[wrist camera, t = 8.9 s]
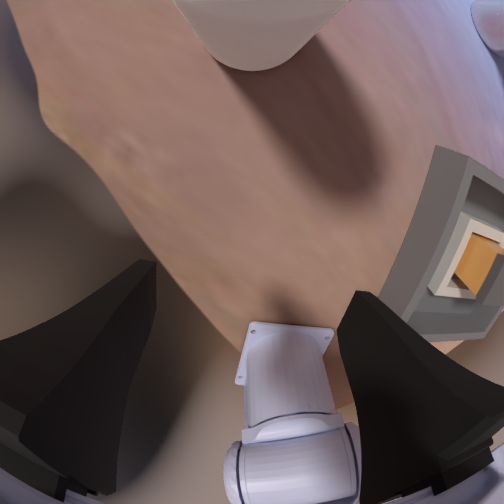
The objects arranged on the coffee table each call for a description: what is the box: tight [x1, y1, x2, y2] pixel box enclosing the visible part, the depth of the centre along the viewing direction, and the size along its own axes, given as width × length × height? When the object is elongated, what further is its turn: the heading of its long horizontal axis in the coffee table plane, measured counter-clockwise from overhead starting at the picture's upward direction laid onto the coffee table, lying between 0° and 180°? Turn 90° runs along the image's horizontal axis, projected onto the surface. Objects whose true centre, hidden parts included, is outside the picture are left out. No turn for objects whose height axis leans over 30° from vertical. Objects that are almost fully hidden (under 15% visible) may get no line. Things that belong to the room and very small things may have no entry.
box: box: [378, 145, 504, 342], centre depth 19 cm, size 16×16×4 cm
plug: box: [454, 232, 504, 306], centre depth 18 cm, size 4×4×6 cm
